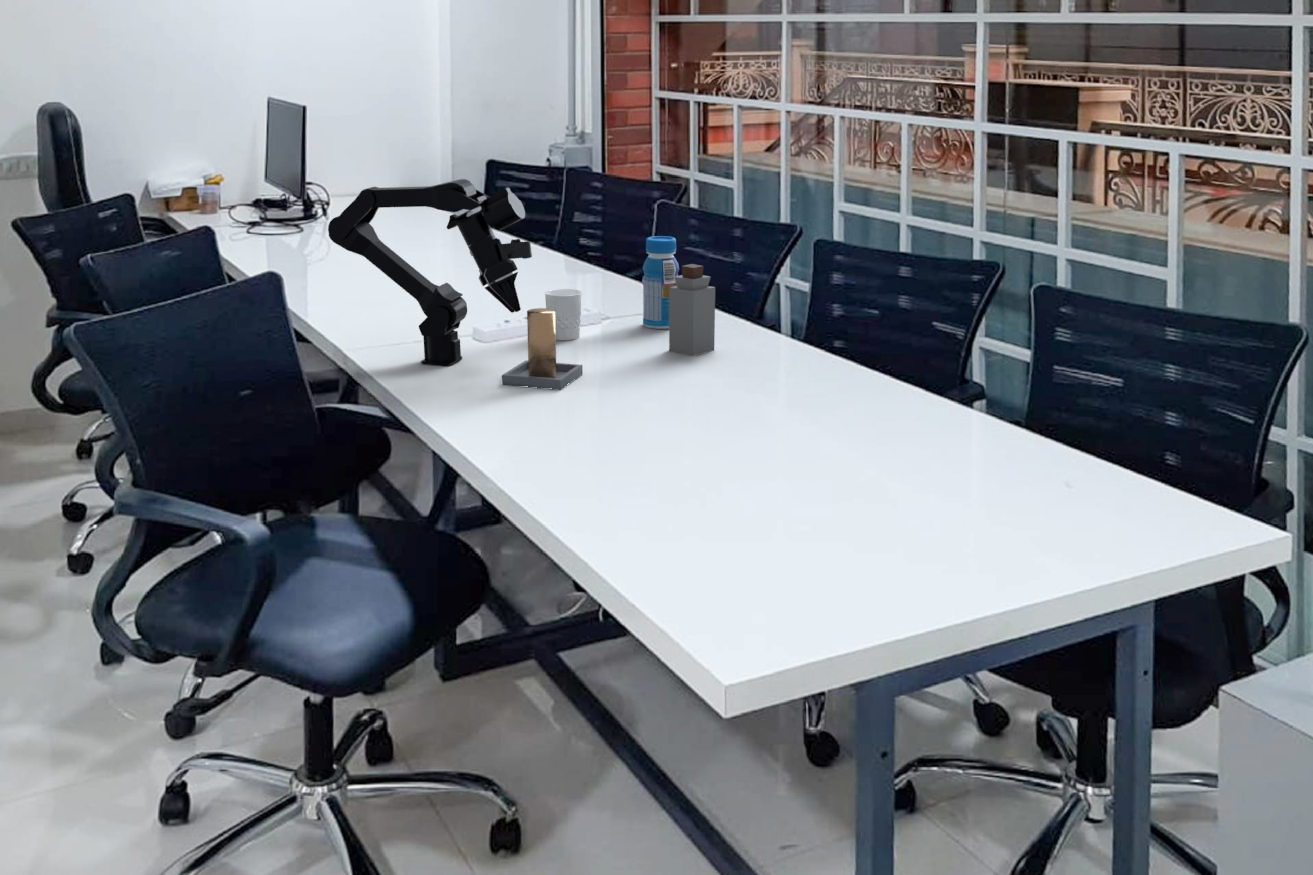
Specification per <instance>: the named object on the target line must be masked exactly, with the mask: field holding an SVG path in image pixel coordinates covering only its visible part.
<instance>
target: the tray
mask: <svg viewBox="0 0 1313 875" xmlns="http://www.w3.org/2000/svg"><path fill="white" fill-rule="evenodd" d="M583 372H584V371H583V364H576V363H562V362H556V378H545V377H533V376H529V371H528V359H526V360H524V361H522V362H521V363H520V364H519V363H518V364H517V365H516V366H514V367H513V368H511V369H510V370H508V371H506V372H504V373H503V374H501V384H502V386H509V387H518V386H528V387H527V388H530V387H537V388H536V389H541V388H552V389H551V390H553V389H558V390H557V391H562V390H563V389H564V388H566V387H567V386H568V385H567V384H568V383H570V382H571V381H573V380H574V379H576V378H577V377H579V376H580V375H581V376H583V375H584V374H583ZM582 374H583V375H582ZM581 376H580V377H581ZM580 377H579V378H580ZM577 379H578V378H577ZM577 379H576V380H577ZM574 381H575V380H574ZM574 381H573V382H574ZM570 384H571V383H570ZM565 386H566V387H565ZM562 388H563V389H562ZM561 389H562V390H561Z"/></svg>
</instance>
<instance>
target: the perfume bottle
mask: <svg viewBox="0 0 1313 875" xmlns="http://www.w3.org/2000/svg"><path fill="white" fill-rule="evenodd" d="M674 278H675V281H676V285H677V286H674V287H670V294H669V329H668V330H669V332H668V335H669V336H668V337H669V338H668V344H669V346H668V347H669V348H668V350H669V351H671V352H674V353H679V354H684V355H688V356H693V357H694V356H697V355H702V354H704V353H709V352H712V351H715V332H716V331H715V326H716V325H715V322H716V320H715V319H716V287H715V286H709V283H710V280H711V278H712V277H711V276H709V275H704V265H699V264H695V263H690V264H685V265H681V275H678V276H675V277H674Z"/></svg>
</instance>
